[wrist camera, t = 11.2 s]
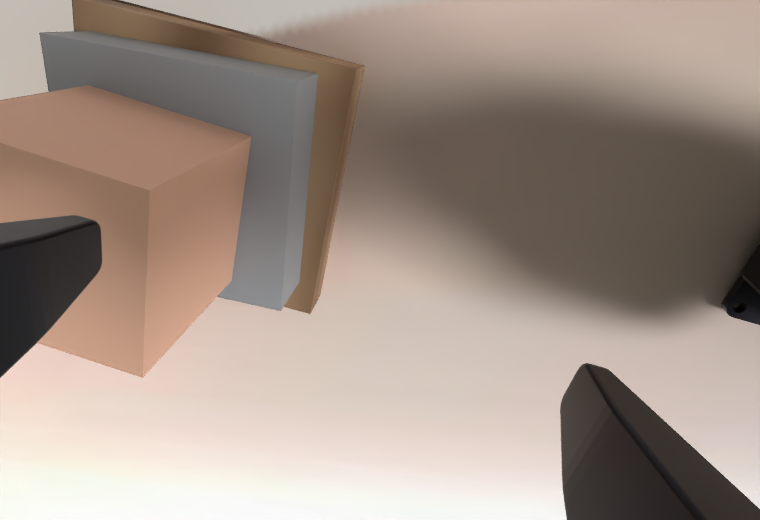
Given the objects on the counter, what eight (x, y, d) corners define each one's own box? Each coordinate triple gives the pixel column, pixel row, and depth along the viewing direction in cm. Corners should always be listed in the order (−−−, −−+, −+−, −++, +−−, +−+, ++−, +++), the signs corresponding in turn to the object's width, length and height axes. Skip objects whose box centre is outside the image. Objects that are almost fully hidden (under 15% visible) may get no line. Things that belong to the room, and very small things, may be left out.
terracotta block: (251, 136, 17) (149, 190, 11) (231, 280, 20) (142, 377, 14) (88, 85, 17) (-87, 114, 12) (91, 235, 20) (-48, 314, 14)
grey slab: (317, 73, 18) (297, 81, 16) (299, 281, 22) (280, 310, 20) (90, 31, 19) (39, 32, 16) (114, 241, 23) (76, 265, 20)
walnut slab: (367, 64, 20) (355, 69, 18) (324, 287, 25) (310, 313, 23) (114, -2, 20) (71, -4, 18) (122, 231, 25) (89, 251, 23)
